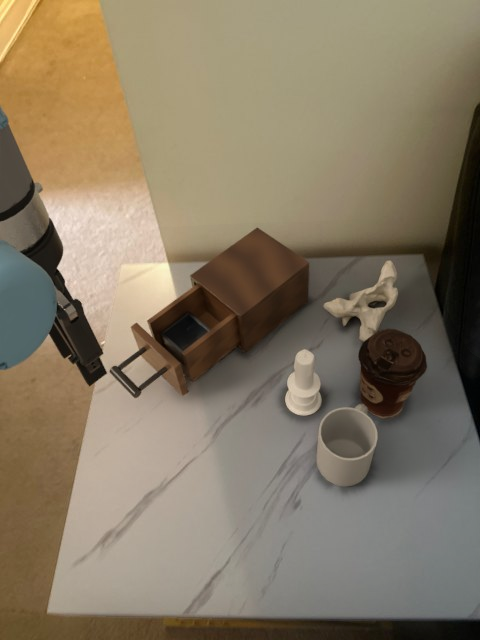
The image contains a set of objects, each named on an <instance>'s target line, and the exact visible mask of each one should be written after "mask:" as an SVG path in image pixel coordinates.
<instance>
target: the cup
mask: <svg viewBox="0 0 480 640" xmlns="http://www.w3.org/2000/svg"><path fill="white" fill-rule="evenodd" d="M368 413H369V411H368V408H367V407H366V406H365V405H364V404H362V403H358V404H357V405H356V406H355V407H345V406H344V407H338V408H335V409H333V410H330V411H329V412H327V413H326V414H325V415H324V416H323V418H322V419H321V421H320V423H319V427H318V436H317V446H316V447H317V449H316V466H317V468H318V471H319V473H320V474H321V476H322V477H323V478H324V479H325V480H326V481H327V482H329V483H331V484H332V485H336V486H339V487H351V486H355V485H357V484H359V483H361V482H362V481H363V480H364V479H365V478H366V476H367V475H368V473H369V471H370V468H371V464H372V462H373V461H372V460H373V456H374V454H375V449H376V446H377V442H378V439H379V438H378V430H377V426H376V424H375V422H374V421H373V419H372V418H371V417H370V416H369V415H368Z"/></svg>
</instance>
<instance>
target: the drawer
mask: <svg viewBox="0 0 480 640" xmlns="http://www.w3.org/2000/svg"><path fill="white" fill-rule="evenodd" d="M188 311H190V312H191V313H192V314H193V315H194V316H196V317H197V318H198V319H199V320H200V321H201V322H203V323H204V324H205V325H206V326H207V327H209V328H210V329H211V330H210V331H209V332H207V333H206V334H205V335H204V336H202V337H201V338H200V339H198V340H197V341H196V342H195V343H193V344H192V345H191V346H189V347H188V348H187V349H186V350H184V351H183V352H182V355H183V359H184V363H185V366H186V367H185V366H184V365H183V364H182V363H181V362H180V361H179V360H178V359H177V358H176V357H174V356H173V355H172V354H171V353H170V352H169V351H168V350H167V349H166V348H165V347H164V346H163V344H162V341H161V338H160V334H159V333H160V332H161V331H163V330H164V329H165V328H167V327H168V326H169V325H171V324H172V323H173V322H175V321H176V320H177V319H179V318H180V317H181V316H183V315H184V314H185V313H187V312H188ZM146 322H147V325H148V328H149V332H150V333H149V332H148V331H147V330H145V329H144V328H143V327H142V326H141V325H140V324H139V323H138V322H135V323H134V324H132V325H131V326H130V330H131V332H132V335H133V338H134V340H135V343H136V346H137V347H138V350H137V351H136V352H134V353H133V354H131V355H130V356H129V357H128V358H126V359H125V360H124V361H122V362H121V363H120V364H118V365H112V366H111V367H110V368H109V374H111V375H112V377H114V379H115V380H116V381H117V382H118V383H119V384H120V385H121V386H122V388H124V389H125V390H126V392H128V393H129V394H130V396H132V398H134V399H138V398H139V397H141V395H142V391H144V390H145V389H146V388H147V387H149V386H150V385H151V384H153V383H154V382H155V381H157V380H158V379H159V378H160V377H162V378H163V379H164V380H165V381H166V382H167V383H169V385H170V386H171V387H172V388H173V389H174V390H176V391H177V392H178V393H179V394H180V395H181V396H182V397H184V396H186V394H188V393H189V392H190V390H189V388H188V387H189V386H188V385H187V381H186V378H187V379H188V380H189V381H190V382H191V383H194V382H195V381H196V380H197V379H198V378H200V377H201V376H202V375H203V374H204V373H206V372H207V371H209V370H210V369H211V368H212V367H213V366H214V365H216V364H217V363H218V362H220V361H221V360H222V359H223V358H224V357H226V356H227V355H228V354H229V353H231V352H232V351H233V350H234V349H235V348H236V347H237V346H238V345H239V344H240V343H241V338H240V330H239V322H238V317H237V316H236V315H235V314H234V313H232V312H231V311H230V310H229V309H227V308H226V307H225V306H224V305H222V304H221V303H220V302H219V301H218V300H216V299H215V298H214V297H213V296H211V295H210V294H209V293H208V292H206V291H205V290H204V289H203V288H201V287H200V286H199V285H198V284H197V285H195V286H194V287H192V286H191V288H189V289H188V290H187V291H185V292H184V293H182V294H181V295H180V296H178V297H177V298H176V299H175V300H173V301H172V302H170V303H169V304H167V305H166V306H165V307H163V308H162V309H160V310H159V311H158V312H157V313H155V314H154V315H152V316H151V317H150V318H148V319H147V320H146ZM139 357H141V358H142V359H144V361H145V362H147V363H148V364H149V365H150V366H151V368H153V369H154V370H155V371H156V372H155V373H153V375H151V376H150V377H149V378H147V379H146V380H145V381H143V382H142V383H141V384H140V385H139V386H138V385H137V384H136V383H135V382H134V381H132V379H131V378H129V377H128V375H126V373H125V372H124V371H123V370H124V369H125V368H127V367H128V366H129V365H130V364H131V363H132V362H134V361H136V359H138V358H139Z"/></svg>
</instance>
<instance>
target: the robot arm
mask: <svg viewBox="0 0 480 640" xmlns="http://www.w3.org/2000/svg"><path fill="white" fill-rule="evenodd" d="M9 123H10V122H9V118H8V115H7V114H6V112H4V110H3V108H2V106H1V105H0V371H6V370H9V369H12V368H15V367H17V366H18V365H21V364H22V363H23V362H25V361H26V360H28V359H29V358H31V356H32V355H33V354H34V353H35V352H36V351H38V349H39V348H40V347H41V346H42V345H43V343H44V342H45V340H47V337H48V336H49V337H50V339H51V340H52V343H53V344H54V345H55V348H56V349H57V351H58V353H59V354H60V356H61V357H62V358H63V359H64V360H66V358H67V360H68V361H69V362H70V363H71V364H72V365H76V367H77V369H78V371H79V373H80V374H81V377H82V378H83V380H84V381H85V384H87V385H88V387H91V386H92V385H94V384H95V383H96V382H98V381H99V380H100V379H102V378H103V377H105V376H106V375H108V371H107V370H106V368H105V365H104V364H103V361H102V359H101V358H100V357H101V356H103V355H104V351H103V348H102V347H101V345H100V343H99V341H98V339H97V337H96V335H95V332H94V330H93V329H92V327H91V324H90V322H89V320H88V318H87V316H86V314H85V310H84V307H83V303H82V301H81V300H79V299H78V298H73V296H72V294H71V293H70V291H69V289H68V288H67V285H66V279H65V278H64V276H63V274H62V273H61V271H60V270H59V269H58V267H59V265H60V263H61V261H62V259H63V256H64V244H63V242H62V240H61V237H60V234H59V233H58V230H57V229H56V227H55V224H54V222H53V220H52V219H51V218H50V214H49V212H48V210H47V208H46V206H45V204H44V201H43V200H42V198H41V196H40V194H41V193H42V191H43V190H44V188H43V185H42V184H41V183H40V182H38V181H36V182H35V181H34V178H33V177H32V175H31V173H30V170H29V168H28V165H27V163H26V161H25V159H24V155H23V154H22V151H21V150H20V147H19V145H18V143H17V141H16V138H15V136H14V134H13V131H12V129H11V127H10V124H9Z"/></svg>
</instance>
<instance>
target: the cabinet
mask: <svg viewBox="0 0 480 640" xmlns="http://www.w3.org/2000/svg"><path fill="white" fill-rule="evenodd" d="M189 277H190V283H191V288H192V287H194V286H195V285H197V284H198V285H199V286H200V287H201V288H203V289H204V290H205V291H206V292H208V293H209V294H210V295H211V296H213V297H214V298H215V299H216V300H218V301H219V302H220V303H221V304H222V305H224V306H225V307H226V308H227V309H229V310H230V311H231V312H232V313H234V314H235V315H236V316H237V317H238V322H239V330H240V338H241V343H240V344H239V345H238V346H236V347H237V348H238V349H239V350H241V351H242V352H243V353H244V354H246V353H247V352H249V351H250V350H251V349H252V348H254V347H255V346H256V345H257V344H259V342H261V341H262V340H263V339H264V338H267V336H268V335H269V334H270V333H272V332H273V331H274V330H275V329H277V328H278V327H279V326H280V325H282V323H284V322H285V321H286V320H288V319H289V318H290V317H291V316H292V315H294V314H295V313H296V312H297V311H298V310H300V309H301V308H302V307H303V306H304V305H306V304H307V303H308V302H309V285H310V284H309V283H310V281H309V280H310V262H309V261H308V260H307V259H305V258H304V257H302V256H301V255H299V254H298V253H297V252H295V251H293V250H292V249H290V248H289V247H287V246H286V245H285V244H283V243H282V242H280V241H278V240H276V238H274V237H273V236H271V235H270V234H268V233H266V232H265V231H264V230H262V229H260V228H259V227H258V226H257V227H255V228H254V229H253V230H251V231H250V232H248V233H246V235H244V236H243V237H241V238H240V239H239V240H237V241H236V242H235V243H233V244H232V245H230V246H229V247H228V248H226V249H225V250H223V251H222V252H221V253H219V254H218V255H216V256H215V257H214V258H212V259H211V260H209V261H208V262H207V263H205V264H204V265H202V266H201V267H200V268H198V269H197V270H196V271H194V272H193V273H192V274H190V275H189Z"/></svg>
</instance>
